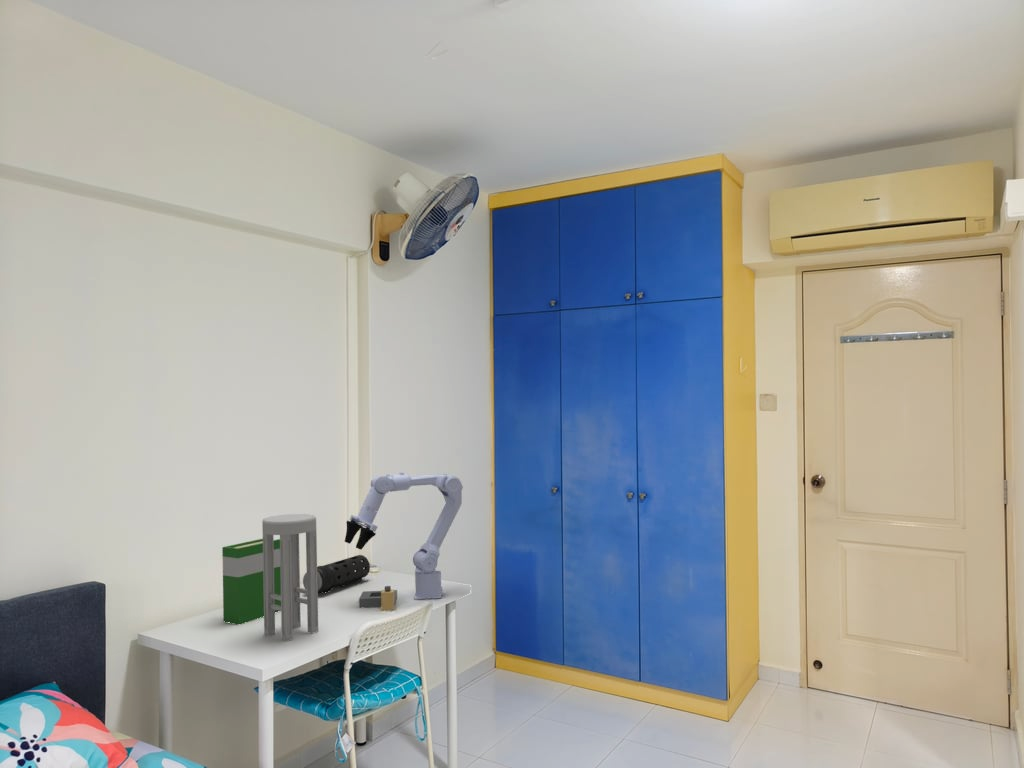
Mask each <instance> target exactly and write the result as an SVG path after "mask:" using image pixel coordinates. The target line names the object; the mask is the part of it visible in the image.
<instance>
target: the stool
mask: <svg viewBox="0 0 1024 768" xmlns="http://www.w3.org/2000/svg"><path fill="white" fill-rule="evenodd" d="M261 527H262V539H263V584H264V617H263V624H264V625H263V628H264V629H263V630H264V634H265V636H267V635H268V636H269V635H270V636H273V635H276V613H275V610H279V611H280V612H281V613H280V616H281V617H280V618H281V619H280V620H281V621H280V622H281V624H280V625H281V641H283V640H284V641H283V642H289V641H292V640H291V639H294V636H293V635H294V634H293V631H294V630H293V629H297V628H300V626H301V625H302V624H301V623H302V621H301V604H302V605H303V604H304V605H306V607H307V608H306V609H307V610H306V611H307V612H306V613H307V614H306V615H307V633H308V632H311V633H310V634H314V633H313V632H316V631H318V632H319V597H318V596H319V594H318V585H317V567H318V542H317V539H318V538H317V517H316V516H315V515H314V514H311V513H310V514H307V513H289V514H288V513H287V514H278V515H273V516H269V517H265V518H263V519H262V525H261ZM300 534H305V551H306V552H305V555H306V556H305V557H306V558H305V560H306V572H307V589H305V588H304V587H301V579H300V578H301V577H300V576H301V575H300V565H301V564H300ZM274 536H279V539H280V572H281V595H277V594H274V540H275V538H274ZM301 594H304V595H306V598H304V597H301ZM275 599H276V600H280V601H281V606H280V605H276V604H275ZM316 633H317V632H316ZM272 634H273V635H272ZM268 636H267V637H268ZM270 636H269V637H270ZM288 640H289V641H288Z"/></svg>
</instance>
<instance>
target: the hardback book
mask: <svg viewBox="0 0 1024 768" xmlns="http://www.w3.org/2000/svg"><path fill="white" fill-rule="evenodd" d="M221 556H222V601H223V602H222V603H223V606H222V608H223V609H222V610H223V614H222V615H223V622H224V621H225V622H224V623H226V622H230V623H229V624H232V623H235V624H234V625H237V624H240V625H242V623H243V624H246V623H249V622H252V621H255V620H257V618H258V619H261V618H264V617H263V616H264V584H263V538H259V539H254V540H250V541H245V542H240V543H236V544H231V545H227V546H226V545H225V546H222V555H221ZM274 594H277V595H281V572H280V538H278V539H274ZM275 604H276V605H280V606H281V601H280V600H276V599H275ZM278 611H279V610H275V612H277V613H279V612H278ZM260 617H261V618H260ZM245 622H246V623H245Z"/></svg>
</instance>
